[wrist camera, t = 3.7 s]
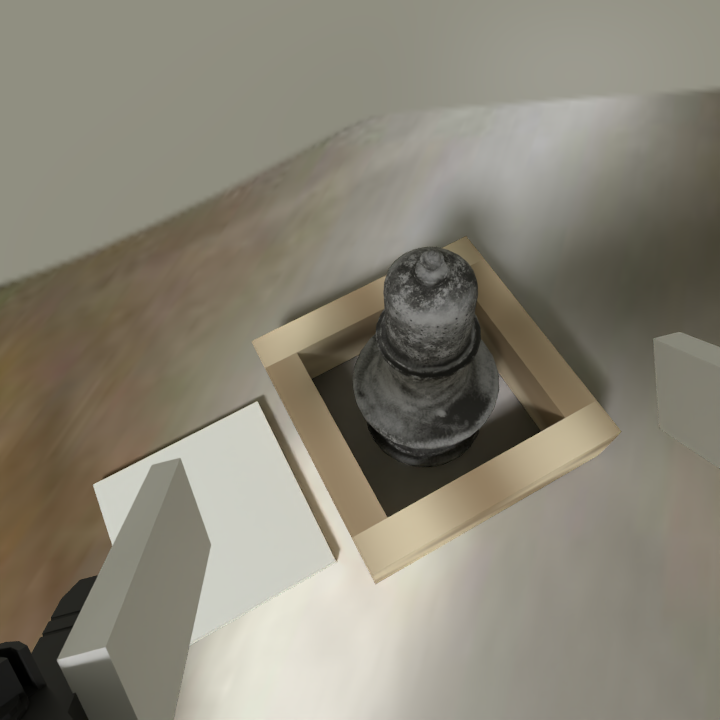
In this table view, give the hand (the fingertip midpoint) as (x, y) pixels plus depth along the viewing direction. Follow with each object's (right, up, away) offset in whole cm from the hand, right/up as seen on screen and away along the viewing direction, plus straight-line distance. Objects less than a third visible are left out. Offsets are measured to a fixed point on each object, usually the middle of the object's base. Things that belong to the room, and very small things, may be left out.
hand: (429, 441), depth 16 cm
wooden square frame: (+1, 0, +11) cm, 11 cm away
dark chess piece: (+1, 0, +11) cm, 11 cm away
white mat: (-8, -5, +9) cm, 13 cm away
